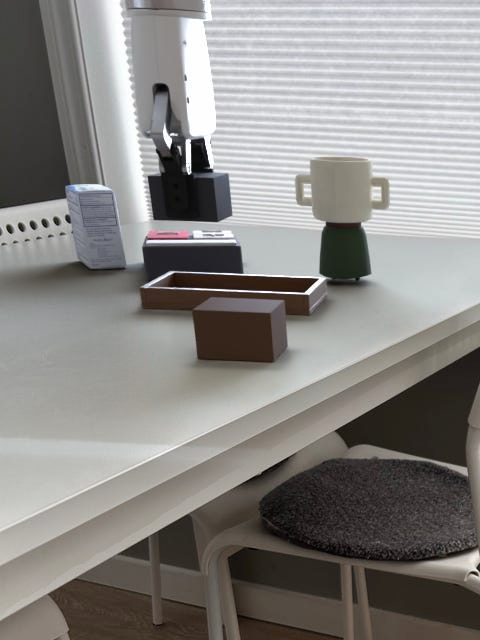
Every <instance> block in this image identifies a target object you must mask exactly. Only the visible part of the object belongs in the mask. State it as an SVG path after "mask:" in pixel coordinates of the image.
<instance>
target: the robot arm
mask: <svg viewBox="0 0 480 640" xmlns="http://www.w3.org/2000/svg"><path fill="white" fill-rule="evenodd" d="M124 3H125V9H126V10H125V13H126V17H127V18H130V42H131V43H130V46H131V61H132V62H131V63H132V74H133V83H134V94H135V103H136V112H137V122H138V129H139V132H140V133H141V135H142V136H143V137H145V138H146V139H151V140H152V142H153V144H154V146H155V152H156V155H157V158H158V159H157V160H158V161H157V162H158V170H159V173H161V180H162V188H163V195H164V203H165V210H166V215H167V217H168V218H176V219H197V218H199V216H200V213H199V204H198V195H197V187H196V178H195V174H190V173H191V172H210V173H215V171H214V170H215V169H214V159H213V154H212V141H211V135H213V133H215V130H216V108H215V98H214V97H215V96H214V87H213V80H212V73H211V66H210V59H209V58H210V57H209V52H208V44H207V40H206V39H207V38H206V34H205V28H204V23H203V22H207V21H212V13H211V4H210V0H124Z"/></svg>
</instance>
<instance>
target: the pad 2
mask: <svg viewBox="0 0 480 640" xmlns="http://www.w3.org/2000/svg"><path fill="white" fill-rule="evenodd" d="M191 314H192V323H193V331H194V338H195V348H196V355H197V359H198V360H219V361H220V360H221V361H239V362H240V361H243V362H262V363H263V362H266V363H274V362H275V361H276V360H277V359H279V357H280V355H281V354H282V353H283V352H285V350H286V349H287V348H288V343H289V342H288V331H287V314H285V301H284V300H267V299H243V298H219V297H211V298H209V299H208V300H206V301H205V302H203V303H202V304H200V305H199V306H197V307H196V308H194V309H193V310H191Z"/></svg>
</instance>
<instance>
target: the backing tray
mask: <svg viewBox="0 0 480 640" xmlns="http://www.w3.org/2000/svg"><path fill="white" fill-rule="evenodd" d="M138 289H139V296H140V302H141V308H142V309H156V310H157V309H158V310H159V309H160V310H181V311H182V310H183V311H192V310H193V309H194V308H196V307H197V306H199V305H200V304H202V303H203V302H205V301H206V300H208V299H209V298H211V297H219V298H243V299H267V300H284V301H285V314H286V315H303V316H311V314H313V313H314V311H315V310H316V309H317V308H318V307H319V306H320V304H322V302H324V300H325V299H326V298H327V297H328V287H327V277H323V276H322V277H320V276H319V277H318V276H296V275H294V276H293V275H274V274H273V275H272V274H271V275H270V274H251V273H250V274H249V273H248V274H246V273H244V274H226V273H202V272H178V271H176V272H175V271H170V272H168V273H166V274H164V275H162V276H160V277H158V278H157V279H155V280H150V281H149V282H147V283H145V284H143V285H141V286H139V288H138Z"/></svg>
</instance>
